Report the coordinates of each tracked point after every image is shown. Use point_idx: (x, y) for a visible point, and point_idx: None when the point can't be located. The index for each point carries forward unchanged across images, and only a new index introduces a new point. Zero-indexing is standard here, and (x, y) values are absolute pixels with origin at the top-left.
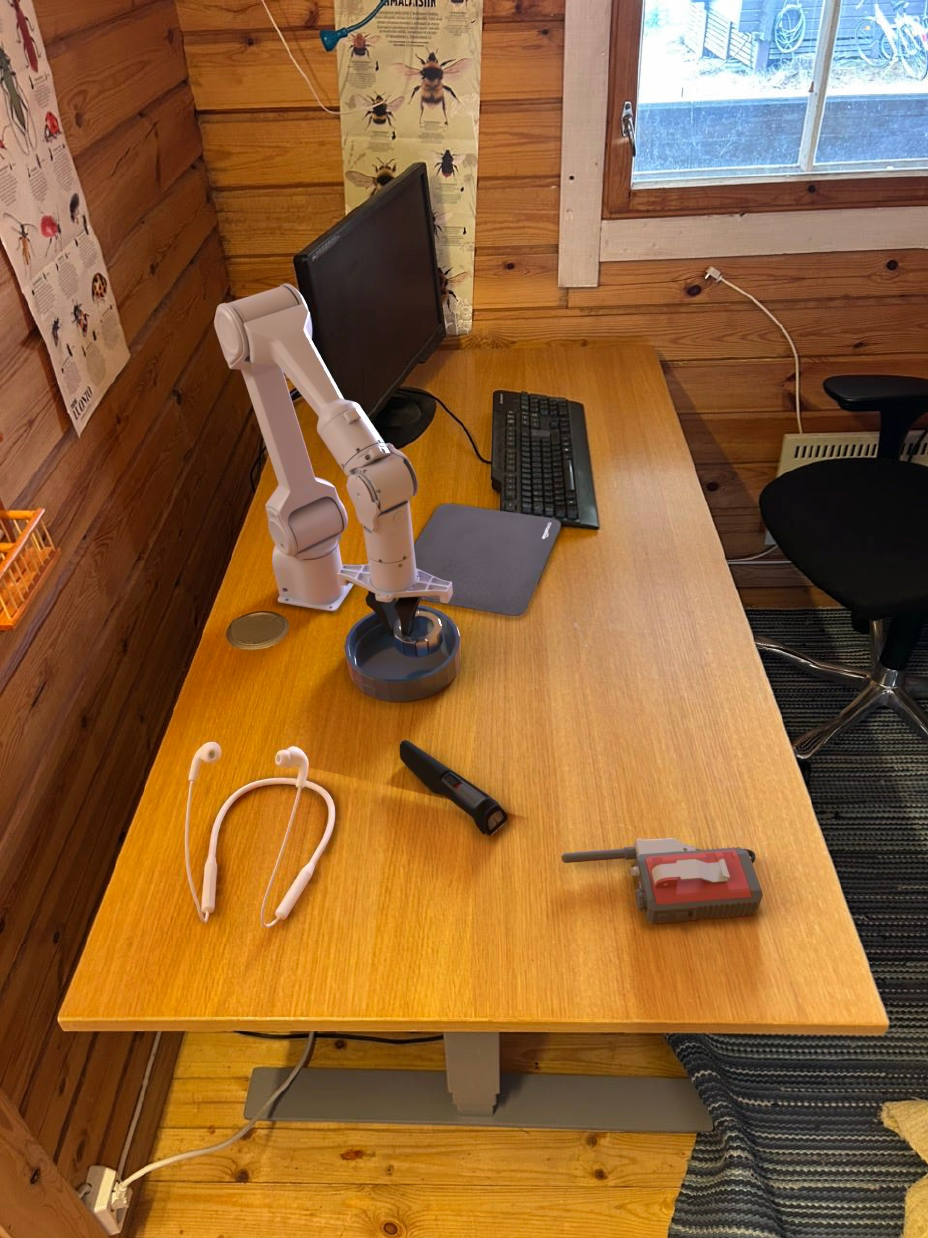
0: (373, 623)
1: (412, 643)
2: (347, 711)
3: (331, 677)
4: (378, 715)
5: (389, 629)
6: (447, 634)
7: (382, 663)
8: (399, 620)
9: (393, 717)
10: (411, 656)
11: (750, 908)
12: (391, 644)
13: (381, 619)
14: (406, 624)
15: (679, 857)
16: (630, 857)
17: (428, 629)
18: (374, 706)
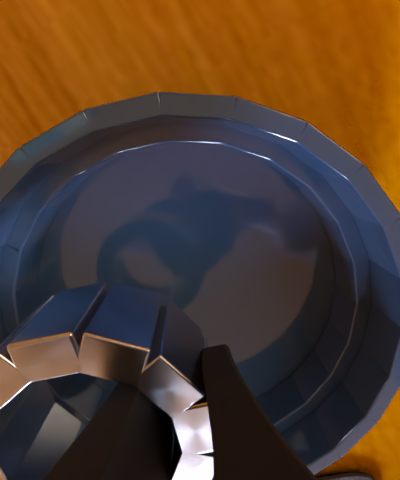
0: (350, 376)
1: (16, 343)
2: (236, 15)
3: (371, 135)
4: (127, 54)
5: (213, 376)
6: None
7: (245, 258)
8: (201, 449)
9: (77, 72)
10: (74, 289)
11: None
12: (262, 333)
13: (265, 434)
14: (60, 467)
15: None
16: None
17: None
18: (165, 86)
